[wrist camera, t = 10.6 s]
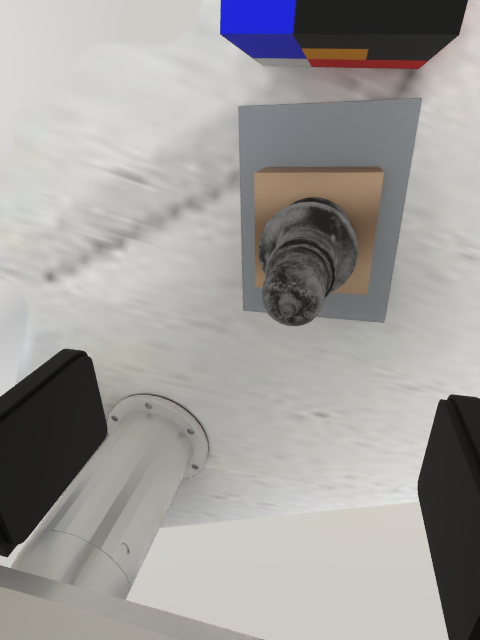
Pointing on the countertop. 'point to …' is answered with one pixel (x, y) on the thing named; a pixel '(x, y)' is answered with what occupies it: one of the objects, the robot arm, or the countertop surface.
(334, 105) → the slate mat
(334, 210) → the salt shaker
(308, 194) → the base block
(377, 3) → the puzzle toy
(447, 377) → the countertop surface
